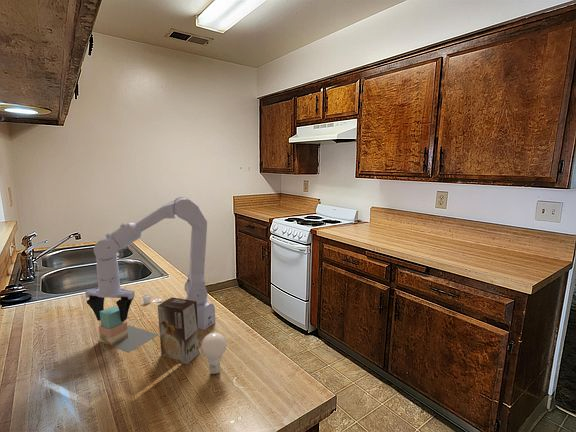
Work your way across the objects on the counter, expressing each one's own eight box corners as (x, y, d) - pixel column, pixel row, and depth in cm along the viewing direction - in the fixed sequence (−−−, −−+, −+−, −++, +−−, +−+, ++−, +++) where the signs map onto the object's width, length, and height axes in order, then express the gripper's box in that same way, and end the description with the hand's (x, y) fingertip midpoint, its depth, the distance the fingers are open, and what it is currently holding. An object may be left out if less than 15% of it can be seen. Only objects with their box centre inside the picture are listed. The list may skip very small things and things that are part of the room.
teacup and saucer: (164, 301, 130) (163, 292, 130) (154, 310, 123) (153, 300, 122) (143, 301, 131) (143, 291, 131) (132, 309, 124) (131, 299, 123)
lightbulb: (206, 365, 88) (204, 327, 86) (229, 365, 88) (228, 328, 86) (199, 380, 81) (197, 340, 80) (224, 381, 81) (222, 340, 80)
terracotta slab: (127, 329, 100) (126, 321, 100) (111, 337, 96) (110, 329, 95) (115, 325, 103) (115, 318, 102) (99, 333, 98) (98, 326, 98)
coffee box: (200, 352, 94) (198, 300, 91) (186, 365, 88) (183, 310, 85) (175, 346, 97) (172, 296, 94) (160, 358, 91) (156, 305, 89)
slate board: (159, 337, 102) (159, 334, 102) (128, 355, 92) (128, 352, 92) (129, 328, 108) (129, 325, 108) (97, 344, 99) (97, 341, 98)
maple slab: (128, 336, 101) (127, 329, 100) (111, 345, 96) (111, 337, 96) (116, 332, 103) (115, 325, 103) (100, 341, 98) (99, 333, 98)
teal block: (123, 322, 100) (122, 309, 99) (109, 328, 96) (108, 314, 95) (115, 319, 102) (114, 305, 101) (100, 325, 98) (99, 311, 97)
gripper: (138, 273, 100) (141, 314, 102) (95, 272, 101) (99, 312, 103) (125, 281, 93) (128, 325, 95) (78, 280, 94) (83, 323, 96)
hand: (112, 319), depth 99 cm, fingers open, 7 cm apart
